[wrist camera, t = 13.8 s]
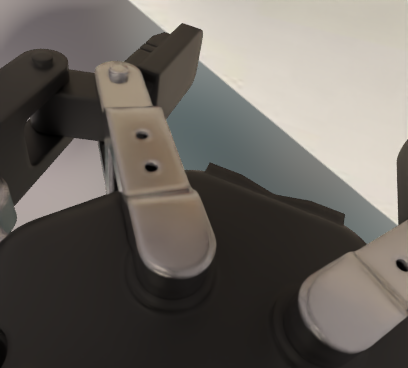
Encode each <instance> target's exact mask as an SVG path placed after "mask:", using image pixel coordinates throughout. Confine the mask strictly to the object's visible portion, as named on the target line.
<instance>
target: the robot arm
mask: <svg viewBox="0 0 408 368" xmlns="http://www.w3.org/2000/svg"><path fill="white" fill-rule="evenodd" d="M202 38H203V31H202V30H201V29H198V28H195V27H192V26H189V25H186V24H183V23H182V24H181V25H179V26H178V27H177V28H176V29H175V30H174V31H173V32H172V33H171V34H169V33H165V32H164V33H161V34H157V35H154V36H152V37H151V38H150V39H149V40H148V41H147V42H146V44H144V45H142V46H141V47H140V49H138V50H137V51H136V52H134V54H132V55H131V56H130V57H129V58H128V59H127V60H125V61H124V62H122V61H109V62H105V63H102V64H100V65H99V66H97V67H96V69H95V73H90V72H82V71H76V70H69V68H68V60H67V58H66V57H65V56H64V55H63V54H62V53H59V52H57V51H54V50H49V49H34V50H30V51H26V52H24V53H23V54H21V55H19V56H18V57H16V58H15V59H14V60H12V61H11V62H9V63H8V64H6V65H5V66H4V67H2V68H1V69H0V368H408V140H407V141H406V142H405V144H404V145H403V147H402V148H401V150H400V152H399V155H398V158H397V189H398V224H399V225H398V226H396V227H395V228H393V229H392V230H390V231H388V232H387V233H385V234H383V235H382V236H380V237H379V238H377V239H375V240H374V241H372V242H370V243H369V244H366V243H365V242H364V241H363V240H362V239H361V238H360V237H359V236H358V235H357V234H356V233H354V232H353V231H352V230H350V229H349V228H348V227H346V226H344V217H345V214H343V213H341V212H338V211H335V210H333V209H330V208H327V207H325V206H322V205H320V204H317V203H314V202H312V201H308V200H302V199H297V198H292V197H286V196H281V195H275V194H273V193H271V192H269V191H268V190H266V189H265V188H263V187H261V186H260V185H258V184H256V183H255V182H253V181H251V180H250V179H248V178H246V177H245V176H243V175H241V174H239V173H236V172H233V171H231V170H228V169H226V168H223V167H220V166H217V165H215V164H213V163H209V165H208V167H207V169H206V171H199V170H184V167H183V165H182V162H181V159H180V156H179V154H178V151H177V149H176V145H175V143H174V140H173V137H172V135H171V132H170V129H169V126H168V124H167V121H166V119H167V117H168V116H169V115H170V113H171V112H172V111H173V109H174V108H175V107H176V105H177V104H178V103H179V101H180V100H181V99H182V97H183V96H184V95H185V94H186V92H187V91H188V90H189V88H190V87H191V85H192V83H193V81H194V78H195V75H196V71H197V66H198V60H199V55H200V49H201V44H202ZM29 117H30V119H29ZM28 119H29V120H28ZM27 120H28V121H27ZM73 138H79V139H88V140H95V141H98V148H99V153H100V159H101V165H102V170H103V176H104V181H105V189H106V195H103V196H101V197H98V198H95V199H92V200H89V201H87V202H84V203H81V204H78V205H75V206H72V207H69V208H66V209H64V210H61V211H58V212H55V213H52V214H49V215H46V216H43V217H41V218H38V219H35V220H33V221H30V222H28V223H26V224H24V225H22V226H20V227H18V228H17V229H15V230H14V231H12V229H13V228H14V226H15V224H16V221H17V214H16V211H15V207H14V206H15V205H16V204H17V203H18V201H19V200H20V199H21V198H22V197H23V196H24V195H25V193H26V192H27V191H28V190H29V189H30V188H31V187H32V185H33V184H34V183H35V182H36V181H37V180H38V179H39V177H40V176H41V175H42V174H43V173H44V172H45V171H46V170H47V168H48V167H49V166H50V165H51V164H52V163H53V162H54V160H55V159H56V158H57V157H58V156H59V155H60V153H62V151H63V150H64V149H65V148H66V147H67V146H68V144H69V143H70V142H71V141H72V140H73ZM11 231H12V232H11Z"/></svg>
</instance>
